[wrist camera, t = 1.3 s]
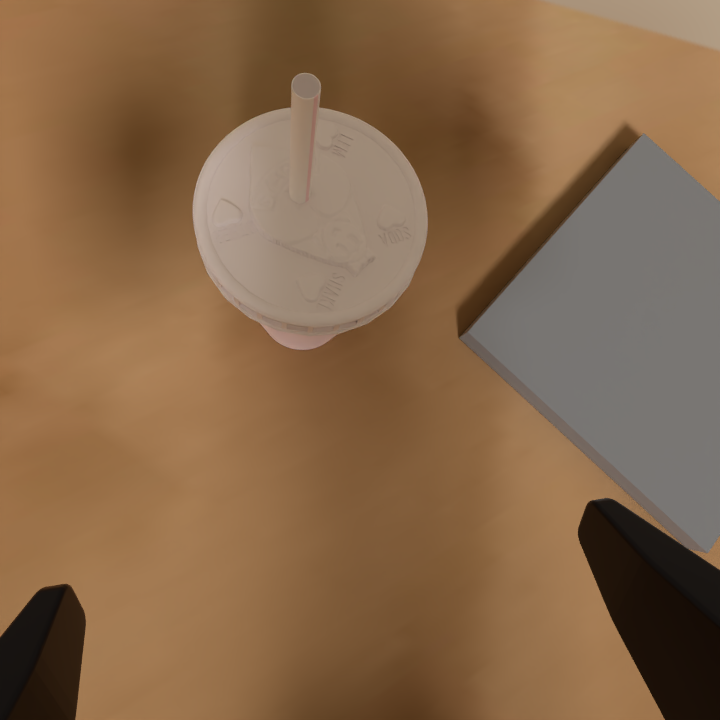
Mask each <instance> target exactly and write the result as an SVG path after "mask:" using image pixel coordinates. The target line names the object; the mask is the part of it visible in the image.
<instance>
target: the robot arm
mask: <svg viewBox="0 0 720 720" xmlns="http://www.w3.org/2000/svg"><path fill="white" fill-rule="evenodd" d="M578 537H579V541H580V544H581V546H582V549H583V551H584V554H585V556H586V558H587V561H588V563H589V566H590V568H591V570H592V573H593V575H594V578H595V580H596V583H597V585H598V587H599V590H600V592H601V595H602V597H603V600H604V602H605V604H606V607H607V609H608V611H609V614H610V616H611V618H612V620H613V622H614V624H615V626H616V628H617V630H618V632H619V634H620V636H621V638H622V640H623V642H624V644H625V645H626V647H627V649H628V651H629V653H630V655H631V657H632V659H633V660H634V662H635V664H636V666H637V668H638V670H639V672H640V674H641V675H642V677H643V679H644V681H645V683H646V685H647V687H648V689H649V690H650V692H651V694H652V696H653V698H654V700H655V702H656V704H657V705H658V707H659V709H660V711H661V713H662V715H663V717H664V719H665V720H720V570H719V569H717V568H716V567H714V566H713V565H711V564H710V563H708V562H707V561H705V560H704V559H702V558H701V557H699V556H698V555H696V554H695V553H693V552H692V551H690V550H689V549H687V548H686V547H684V546H683V545H681V544H680V543H678V542H677V541H675V540H674V539H672V538H671V537H669V536H668V535H666V534H665V533H663V532H662V531H660V530H659V529H657V528H656V527H654V526H653V525H651V524H650V523H648V522H647V521H645V520H644V519H642V518H641V517H639V516H638V515H636V514H635V513H633V512H632V511H630V510H629V509H627V508H626V507H624V506H623V505H621V504H620V503H618V502H617V501H615V500H613V499H610V498H604V499H598V500H592V501H590V502H589V503H588V504H587V505H586V508H585V511H584V514H583V516H582V519H581V522H580V525H579V528H578ZM85 627H86V619H85V613H84V610H83V608H82V606H81V604H80V602H79V600H78V598H77V596H76V594H75V592H74V590H73V589H72V587H71V586H70V585H68V584H61V585H55V586H48V587H44V588H42V589H40V590H39V591H38V592H37V593H36V594H35V595H34V596H33V597H32V598H31V600H30V601H29V602H28V603H27V605H26V606H25V607H24V608H23V610H22V611H21V612H20V613H19V615H18V616H17V617H16V618H15V620H14V621H13V622H12V623H11V625H10V626H9V627H8V628H7V629H6V631H5V632H4V633H3V634H2V636H1V637H0V720H75V717H76V709H77V700H78V691H79V682H80V673H81V664H82V654H83V645H84V636H85Z"/></svg>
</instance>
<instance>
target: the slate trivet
mask: <svg viewBox="0 0 720 720" xmlns="http://www.w3.org/2000/svg"><path fill="white" fill-rule="evenodd" d="M459 338H460V339H461V340H462V341H463V342H464V343H465V344H466V345H467V346H468V347H469V348H470V349H472V350H473V351H474V352H475V353H476V354H477V355H478V356H479V357H480V358H481V359H482V360H483V361H485V362H486V363H487V364H488V365H489V366H490V367H491V368H492V369H493V370H494V371H495V372H496V373H498V374H499V375H500V376H501V377H502V378H503V379H504V380H505V381H506V382H507V383H508V384H509V385H511V386H512V387H513V388H514V389H515V390H516V391H517V392H518V393H519V394H520V395H521V396H522V397H524V398H525V399H526V400H527V401H528V402H529V403H530V404H531V405H532V406H533V407H534V408H535V409H537V410H538V411H539V412H540V413H541V414H542V415H543V416H544V417H545V418H546V419H547V420H548V421H550V422H551V423H552V424H553V425H554V426H555V427H556V428H557V429H558V430H559V431H560V432H561V433H563V434H564V435H565V436H566V437H567V438H568V439H569V440H570V441H571V442H572V443H573V444H575V445H576V446H577V447H578V448H579V449H580V450H581V451H582V452H583V453H584V454H585V455H586V456H588V457H589V458H590V459H591V460H592V461H593V462H594V463H595V464H596V465H597V466H598V467H599V468H601V469H602V470H603V471H604V472H605V473H606V474H607V475H608V476H609V477H610V478H611V479H612V480H614V481H615V482H616V483H617V484H618V485H619V486H620V487H621V488H622V489H623V490H624V491H625V492H627V493H628V494H629V495H630V496H631V497H632V498H633V499H634V500H635V501H636V502H637V503H638V504H640V505H641V506H642V507H643V508H644V509H645V510H646V511H647V512H648V513H649V514H650V515H651V516H653V517H654V518H655V519H656V520H657V521H658V522H659V523H660V524H661V525H662V526H663V527H664V528H666V529H667V530H668V531H669V532H670V533H671V534H672V535H673V536H674V537H675V538H676V539H677V540H679V541H680V542H681V543H682V544H683V545H684V546H685V547H686V548H687V549H691V550H696V551H700V552H705V553H708V552H709V551H710V549H711V548H712V546H713V545H714V543H715V542H716V540H717V539H718V537H719V536H720V202H719V201H718V200H717V199H716V198H715V197H714V196H713V195H712V194H711V193H710V192H708V191H707V190H706V189H705V188H704V187H703V186H702V185H701V184H700V183H698V182H697V181H696V180H695V179H694V178H693V177H692V176H691V175H690V174H688V173H687V172H686V171H685V170H684V169H683V168H682V167H681V166H680V165H679V164H677V163H676V162H675V161H674V160H673V159H672V158H671V157H670V156H669V155H667V154H666V153H665V152H664V151H663V150H662V149H661V148H660V147H659V146H658V145H656V144H655V143H654V142H653V141H652V140H651V139H650V138H649V137H648V136H646V135H645V134H643V135H641V136H640V137H639V138H638V139H637V140H636V141H635V142H634V143H633V144H631V145H630V146H629V147H628V148H627V149H626V151H625V152H624V153H623V154H622V155H621V156H620V157H619V158H618V160H617V161H616V162H615V163H614V164H613V165H612V166H611V167H610V169H609V170H608V171H607V172H606V173H605V174H604V175H603V176H602V178H601V179H600V180H599V181H598V182H597V183H596V184H595V185H594V187H593V188H592V189H591V190H590V191H589V192H588V193H587V194H586V195H585V197H584V198H583V199H582V200H581V201H580V202H579V203H578V204H577V206H576V207H575V208H574V209H573V210H572V211H571V212H570V213H569V215H568V216H567V217H566V218H565V219H564V220H563V221H562V222H561V224H560V225H559V226H558V227H557V228H556V229H555V230H554V231H553V233H552V234H551V235H550V236H549V237H548V238H547V239H546V240H545V242H544V243H543V244H542V245H541V246H540V247H539V248H538V249H537V251H536V252H535V253H534V254H533V255H532V256H531V257H530V258H529V260H528V261H527V262H526V263H525V264H524V265H523V266H522V267H521V269H520V270H519V271H518V272H517V273H516V274H515V275H514V276H513V278H512V279H511V280H510V281H509V282H508V283H507V284H506V285H505V287H504V288H503V289H502V290H501V291H500V292H499V293H498V294H497V296H496V297H495V298H494V299H493V300H492V301H491V302H490V303H489V305H488V306H487V307H486V308H485V309H484V310H483V311H482V312H481V314H480V315H479V316H478V317H477V318H476V319H475V320H474V321H473V323H472V324H471V325H470V326H469V327H468V328H467V329H466V330H465V332H464V333H463V334H462V335H461V336H460V337H459Z"/></svg>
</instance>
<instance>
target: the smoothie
mask: <svg viewBox="0 0 720 720" xmlns="http://www.w3.org/2000/svg"><path fill="white" fill-rule="evenodd" d="M320 94H321V84H320V81H319V80H318V78H317V77H315V76H314V75H312V74H310V73H301V74H298V75H296V76H295V77H294V79H293V80H292V84H291V108H283V109H278V110H274V111H270V112H267V113H264V114H261V115H259V116H257V117H254V118H252V119H250V120H248V121H246V122H245V123H243V124H241V125H240V126H238V127H237V128H235V129H234V130H233V131H231V132H230V133H229V134H228V135H227V136H226V137H225V138H224V139H223V140H222V141H221V142H220V143H219V144H218V145H217V146H216V147H215V149H214V150H213V151H212V152H211V154H210V155H209V157H208V159H207V160H206V162H205V164H204V166H203V168H202V170H201V172H200V175H199V178H198V180H197V184H196V188H195V192H194V199H193V223H194V230H195V235H196V239H197V246H198V249H199V252H200V254H201V257H202V260H203V263H204V265H205V268H206V271H207V274H208V275H209V276H210V278H211V279H212V281H213V282H214V283H215V285H216V286H217V288H218V289H219V290H220V292H221V293H222V294H223V296H224V297H225V299H227V300H228V301H229V302H230V303H232V304H233V305H234V306H235V307H237V308H238V309H239V310H240V311H241V312H243V313H244V314H245V315H246V316H248V317H249V318H250V319H253V320H255V321H257V322H259V323H260V324H261V325H262V326H263V327H264V329H265V330H266V331H267V332H268V334H269V335H270V336H271V337H272V338H273V339H274V340H275V341H277V342H278V343H280V344H281V345H283V346H286V347H288V348H291V349H296V350H309V349H314V348H317V347H319V346H321V345H323V344H325V343H327V342H328V341H329V340H331V339H332V338H333V337H335V336H336V335H337V334H340V333H343V332H346V331H349V330H352V329H354V328H357V327H360V326H363V325H366V324H368V323H369V322H371V321H372V320H374V319H375V318H377V317H378V316H379V315H381V314H382V313H384V312H385V311H387V310H388V309H389V308H391V307H392V306H393V304H394V303H395V302H396V301H397V299H398V298H399V297H400V296H401V295H402V293H403V292H404V291H405V290H406V289H407V287H408V286H409V284H410V282H411V279H412V277H413V275H414V273H415V270H416V268H417V266H418V264H419V262H420V260H421V257H422V254H423V251H424V247H425V243H426V238H427V229H428V215H427V206H426V200H425V196H424V193H423V189H422V187H421V184H420V181H419V179H418V177H417V175H416V173H415V171H414V169H413V167H412V166H411V164H410V162H409V161H408V160H407V158H406V157H405V155H404V154H403V153H402V152H401V151H400V149H399V148H398V147H397V146H396V145H395V144H394V143H393V142H392V141H391V140H390V139H389V138H388V137H386V136H385V135H384V134H383V133H381V132H380V131H379V130H377V129H376V128H374V127H373V126H371V125H370V124H368V123H366V122H364V121H362V120H360V119H358V118H356V117H353V116H351V115H348V114H345V113H342V112H339V111H335V110H331V109H326V108H319V104H320Z"/></svg>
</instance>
